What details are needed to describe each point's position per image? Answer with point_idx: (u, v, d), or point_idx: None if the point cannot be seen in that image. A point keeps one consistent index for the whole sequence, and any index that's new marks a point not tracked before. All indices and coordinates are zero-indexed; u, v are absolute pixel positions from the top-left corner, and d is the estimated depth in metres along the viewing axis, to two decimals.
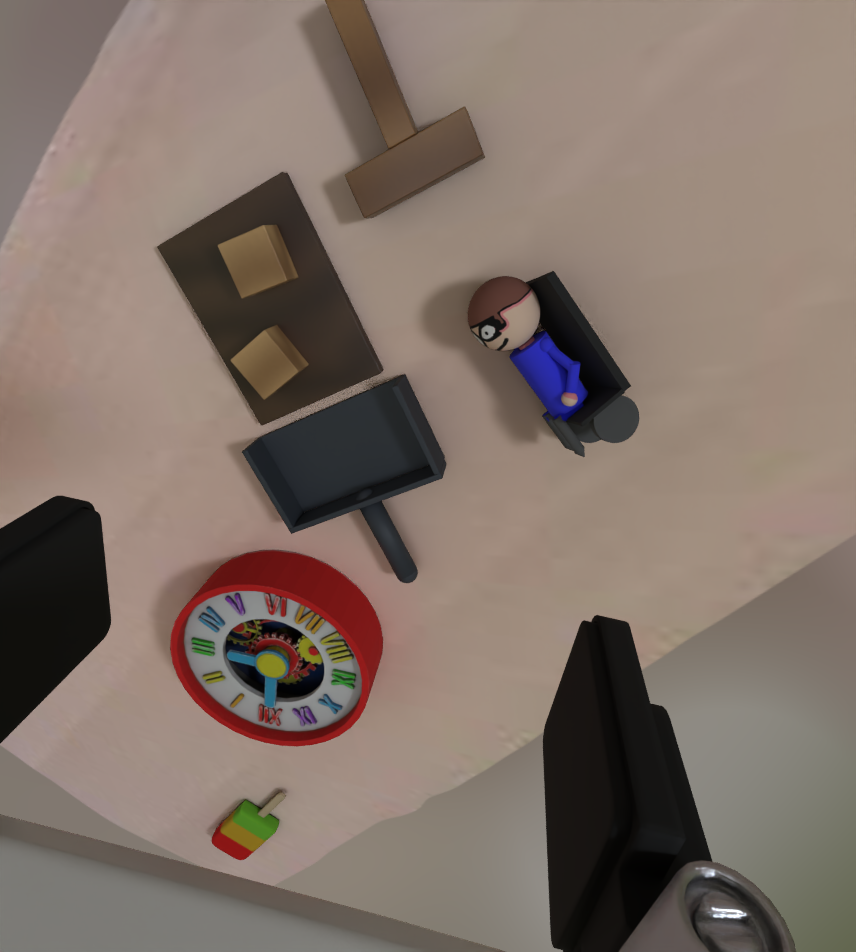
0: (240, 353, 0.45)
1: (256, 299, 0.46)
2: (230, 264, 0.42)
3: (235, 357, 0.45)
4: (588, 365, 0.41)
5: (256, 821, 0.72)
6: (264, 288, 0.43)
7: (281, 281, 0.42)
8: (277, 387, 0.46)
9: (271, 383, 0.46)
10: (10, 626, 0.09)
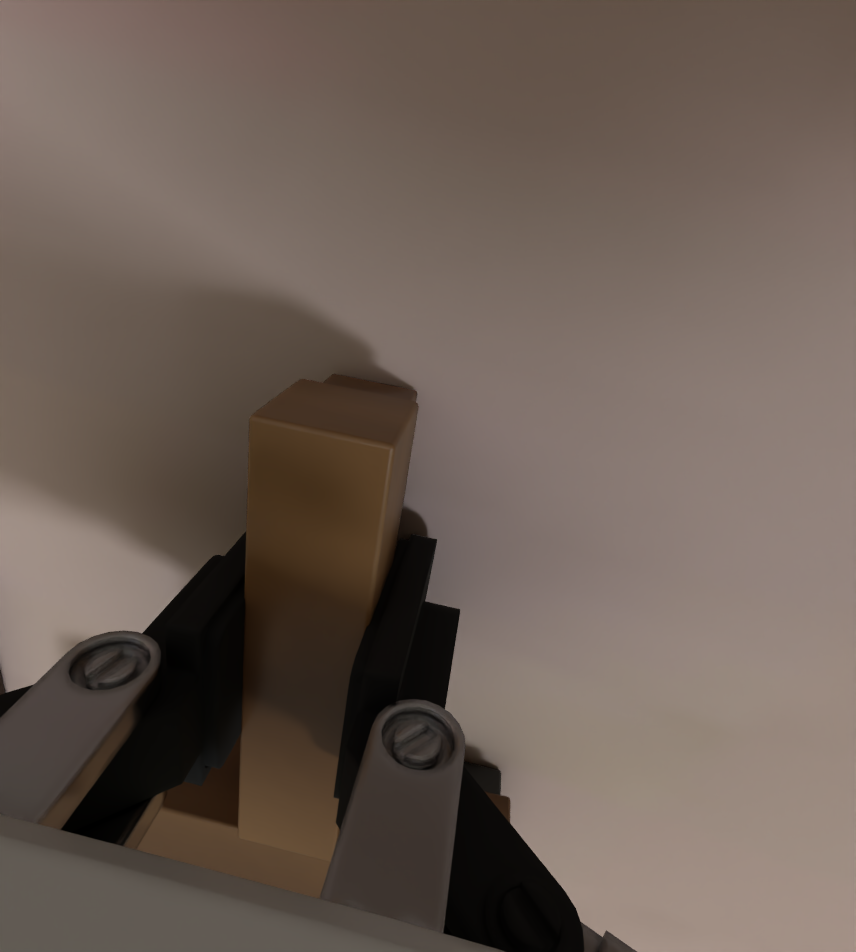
0: None
1: None
2: None
3: None
4: None
5: None
6: None
7: None
8: None
9: None
10: None
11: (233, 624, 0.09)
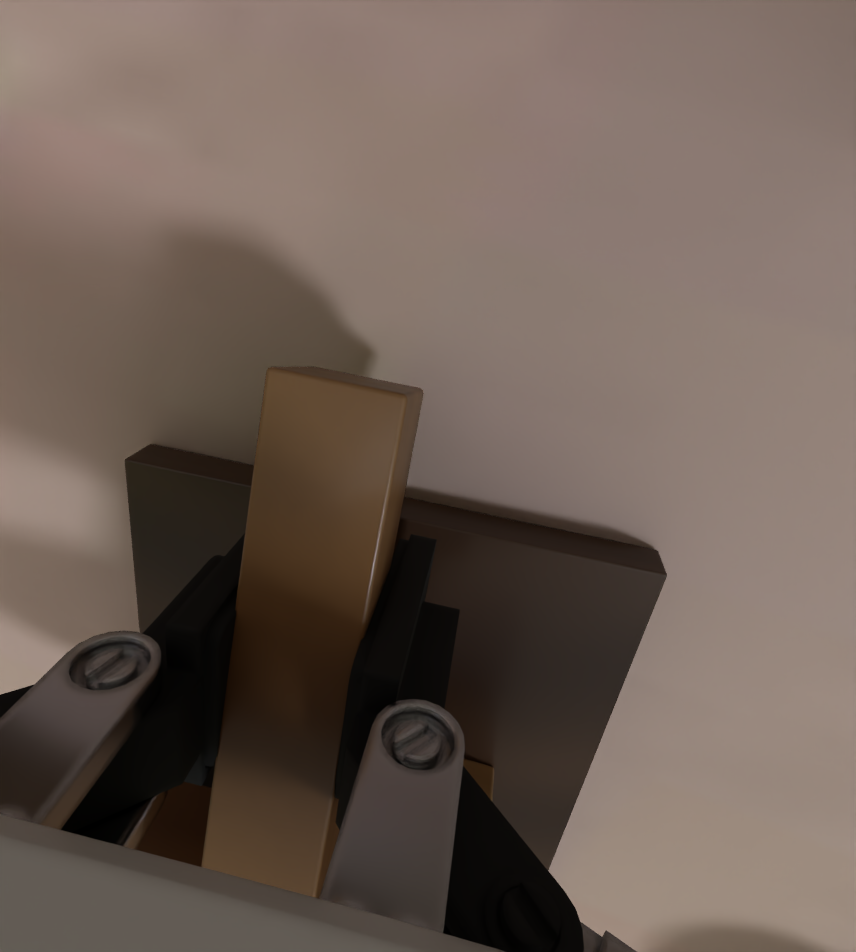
0: None
1: None
2: None
3: None
4: None
5: None
6: None
7: None
8: None
9: None
10: None
11: (233, 624, 0.09)
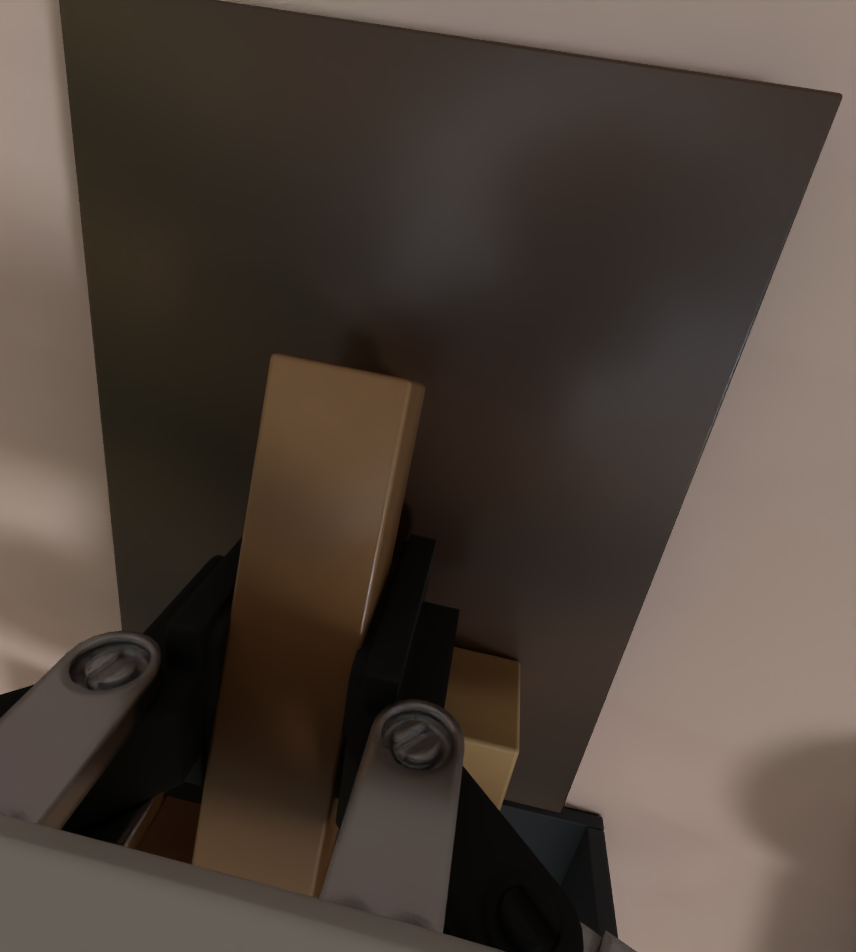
0: None
1: None
2: None
3: None
4: None
5: None
6: None
7: None
8: None
9: None
10: None
11: None
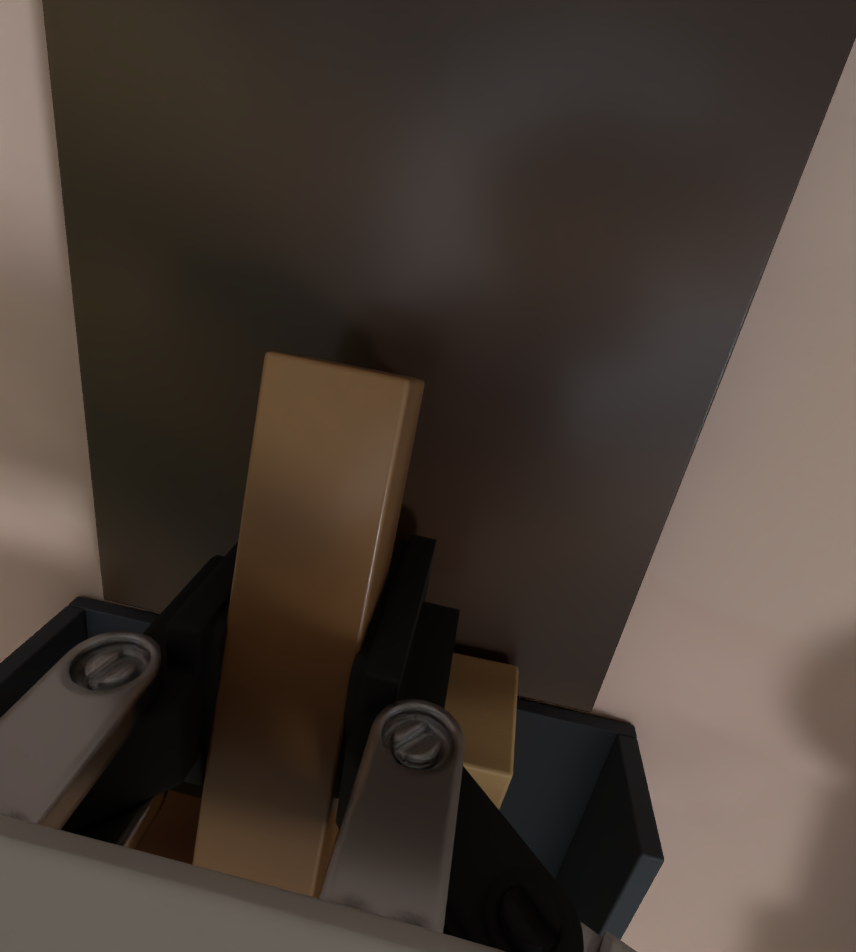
0: None
1: (353, 236, 0.10)
2: None
3: None
4: None
5: None
6: None
7: None
8: None
9: None
10: None
11: None
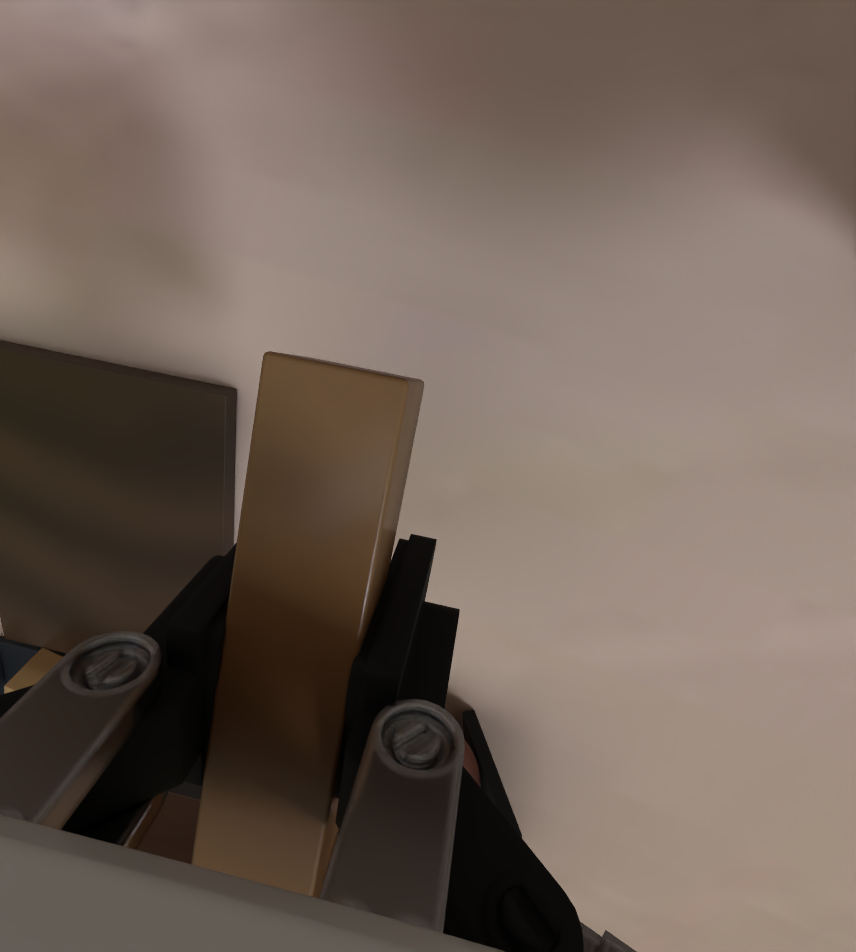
0: None
1: (83, 508, 0.26)
2: None
3: None
4: None
5: None
6: None
7: None
8: None
9: None
10: None
11: None
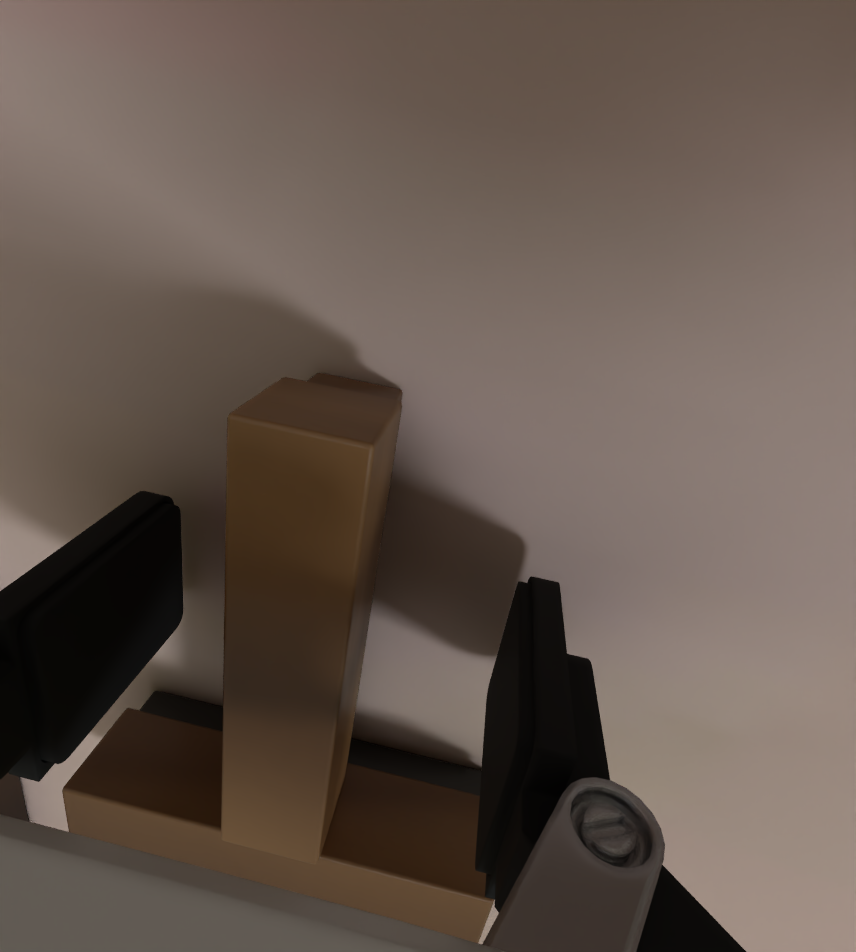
0: None
1: None
2: None
3: None
4: None
5: None
6: None
7: None
8: None
9: None
10: (109, 613, 0.09)
11: (58, 612, 0.08)
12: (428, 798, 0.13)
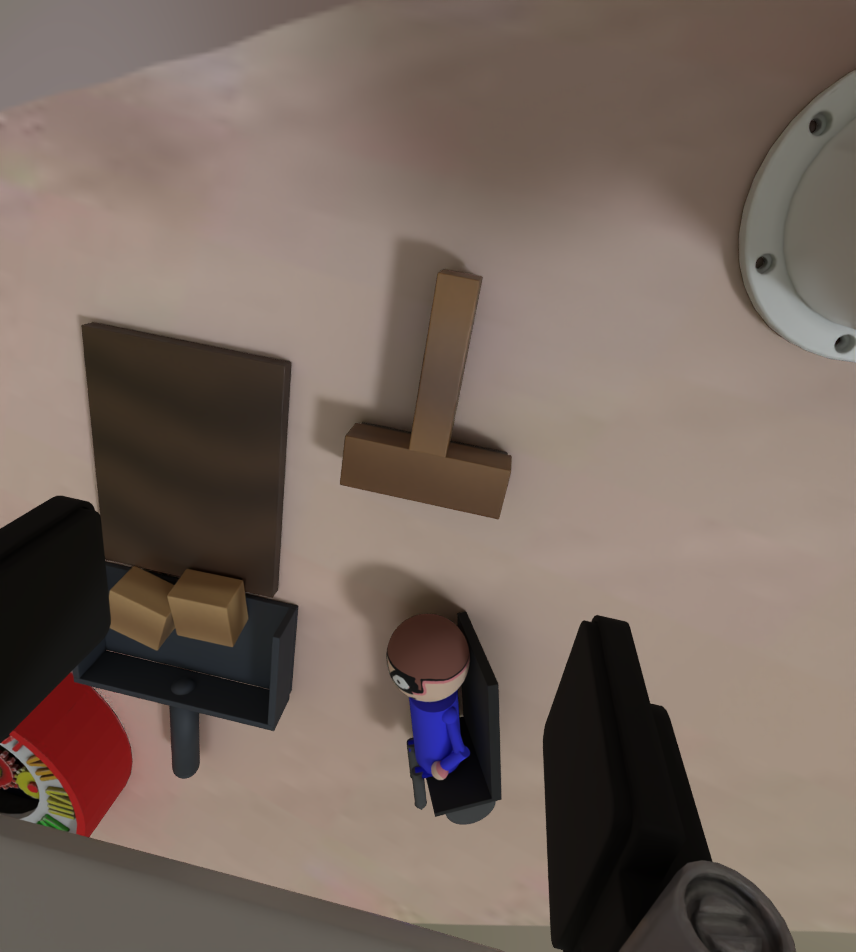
0: (125, 599, 0.37)
1: (174, 453, 0.35)
2: (175, 612, 0.37)
3: (117, 595, 0.37)
4: (476, 737, 0.37)
5: None
6: (205, 640, 0.38)
7: (226, 645, 0.38)
8: (126, 635, 0.39)
9: (124, 629, 0.39)
10: (10, 626, 0.09)
11: None
12: (483, 452, 0.32)
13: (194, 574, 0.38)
